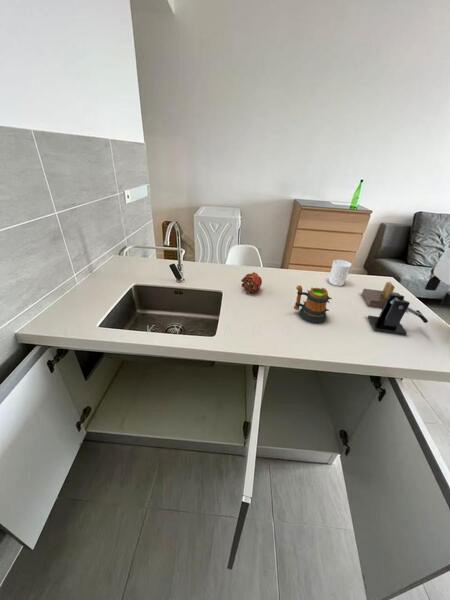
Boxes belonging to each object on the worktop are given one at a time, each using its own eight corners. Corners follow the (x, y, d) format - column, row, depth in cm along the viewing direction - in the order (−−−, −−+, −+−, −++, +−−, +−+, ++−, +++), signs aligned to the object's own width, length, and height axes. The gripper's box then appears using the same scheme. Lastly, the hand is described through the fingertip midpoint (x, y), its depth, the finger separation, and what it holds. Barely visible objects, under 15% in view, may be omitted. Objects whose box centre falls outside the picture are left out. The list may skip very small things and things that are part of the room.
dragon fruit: (249, 300, 101) (248, 290, 112) (267, 290, 98) (264, 281, 109) (238, 284, 98) (238, 275, 109) (256, 273, 96) (255, 265, 107)
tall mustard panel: (381, 293, 102) (386, 281, 99) (385, 293, 102) (390, 281, 99) (385, 298, 98) (391, 286, 95) (389, 299, 98) (395, 286, 95)
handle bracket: (395, 322, 90) (410, 294, 84) (405, 335, 83) (421, 306, 77) (367, 317, 91) (379, 290, 85) (374, 331, 84) (387, 302, 78)
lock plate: (395, 298, 105) (398, 292, 103) (405, 311, 96) (409, 304, 95) (361, 294, 107) (363, 288, 105) (368, 306, 98) (371, 299, 97)
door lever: (415, 314, 86) (421, 309, 84) (424, 324, 81) (430, 319, 79) (387, 299, 85) (393, 294, 84) (394, 308, 80) (400, 303, 78)
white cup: (347, 286, 112) (354, 266, 107) (331, 286, 112) (337, 266, 107) (340, 279, 119) (347, 260, 114) (324, 278, 119) (330, 259, 113)
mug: (325, 311, 94) (333, 284, 88) (327, 326, 85) (337, 298, 79) (291, 305, 96) (296, 279, 90) (290, 319, 88) (296, 291, 82)
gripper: (503, 258, 63) (467, 312, 72) (461, 238, 77) (435, 285, 86) (470, 256, 64) (439, 309, 73) (435, 236, 78) (412, 283, 87)
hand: (437, 296), depth 79 cm, fingers open, 9 cm apart
